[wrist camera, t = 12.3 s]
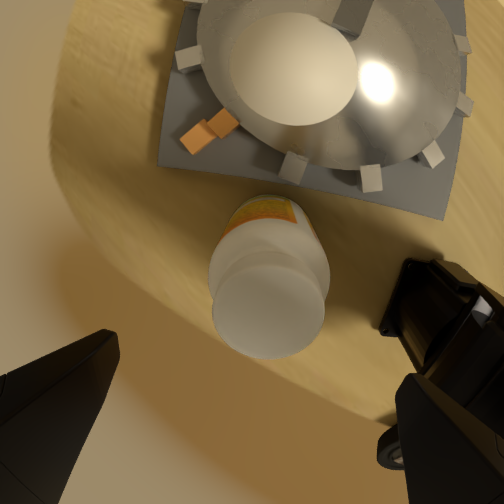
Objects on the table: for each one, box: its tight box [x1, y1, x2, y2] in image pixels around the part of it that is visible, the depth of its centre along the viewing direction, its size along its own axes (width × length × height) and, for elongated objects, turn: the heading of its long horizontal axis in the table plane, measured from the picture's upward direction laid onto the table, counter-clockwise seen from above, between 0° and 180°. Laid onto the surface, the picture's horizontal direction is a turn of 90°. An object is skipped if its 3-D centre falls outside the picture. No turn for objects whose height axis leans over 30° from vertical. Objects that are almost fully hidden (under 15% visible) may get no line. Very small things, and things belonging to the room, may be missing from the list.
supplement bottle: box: [208, 195, 330, 359], centre depth 15 cm, size 5×5×10 cm
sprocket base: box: [157, 0, 467, 221], centre depth 14 cm, size 19×19×2 cm
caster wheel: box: [377, 425, 404, 470], centre depth 24 cm, size 7×11×10 cm
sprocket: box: [175, 0, 474, 193], centre depth 10 cm, size 18×20×6 cm
